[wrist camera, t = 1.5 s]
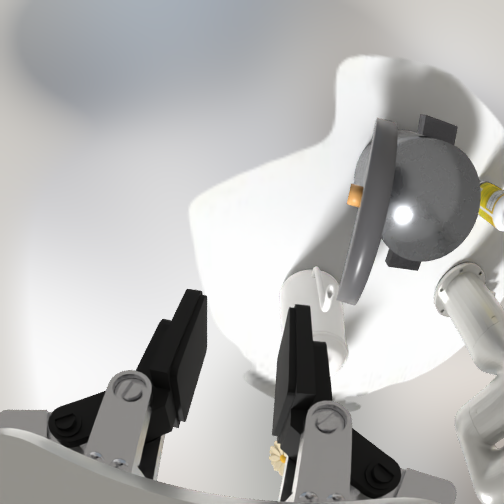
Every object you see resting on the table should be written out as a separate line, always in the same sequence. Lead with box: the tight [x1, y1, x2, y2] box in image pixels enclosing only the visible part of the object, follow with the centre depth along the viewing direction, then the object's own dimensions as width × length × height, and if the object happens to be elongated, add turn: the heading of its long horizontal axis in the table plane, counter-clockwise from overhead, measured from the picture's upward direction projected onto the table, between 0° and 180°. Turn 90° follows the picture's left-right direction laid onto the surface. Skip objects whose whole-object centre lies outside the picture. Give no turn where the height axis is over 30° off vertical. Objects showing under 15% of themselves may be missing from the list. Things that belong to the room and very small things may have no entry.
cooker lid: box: [336, 118, 398, 305], centre depth 25 cm, size 17×17×3 cm
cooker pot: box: [354, 114, 481, 271], centre depth 36 cm, size 16×21×11 cm
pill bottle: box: [478, 181, 504, 232], centre depth 35 cm, size 6×6×11 cm
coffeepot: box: [279, 266, 348, 377], centre depth 44 cm, size 11×25×19 cm, turn 0°
